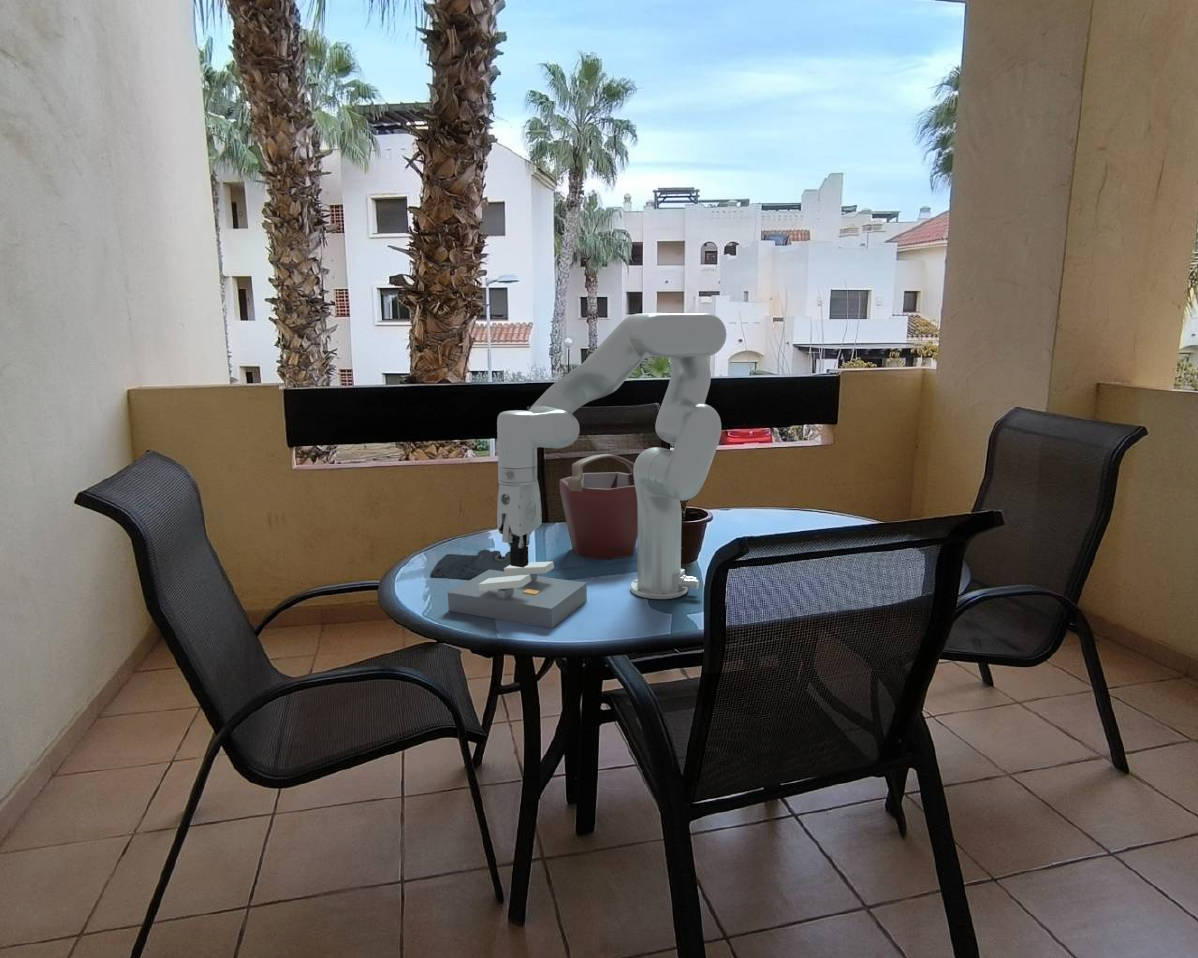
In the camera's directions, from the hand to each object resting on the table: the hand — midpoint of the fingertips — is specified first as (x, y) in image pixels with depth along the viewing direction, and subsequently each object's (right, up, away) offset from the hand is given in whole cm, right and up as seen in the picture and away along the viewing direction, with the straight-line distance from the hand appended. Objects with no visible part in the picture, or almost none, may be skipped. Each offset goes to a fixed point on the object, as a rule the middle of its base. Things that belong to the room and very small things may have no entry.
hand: (519, 565), depth 149 cm
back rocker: (+1, -3, +12) cm, 12 cm away
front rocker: (-3, -4, +3) cm, 6 cm away
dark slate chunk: (-13, -5, +32) cm, 35 cm away
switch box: (-1, -9, +8) cm, 13 cm away
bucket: (+17, -1, +48) cm, 51 cm away
